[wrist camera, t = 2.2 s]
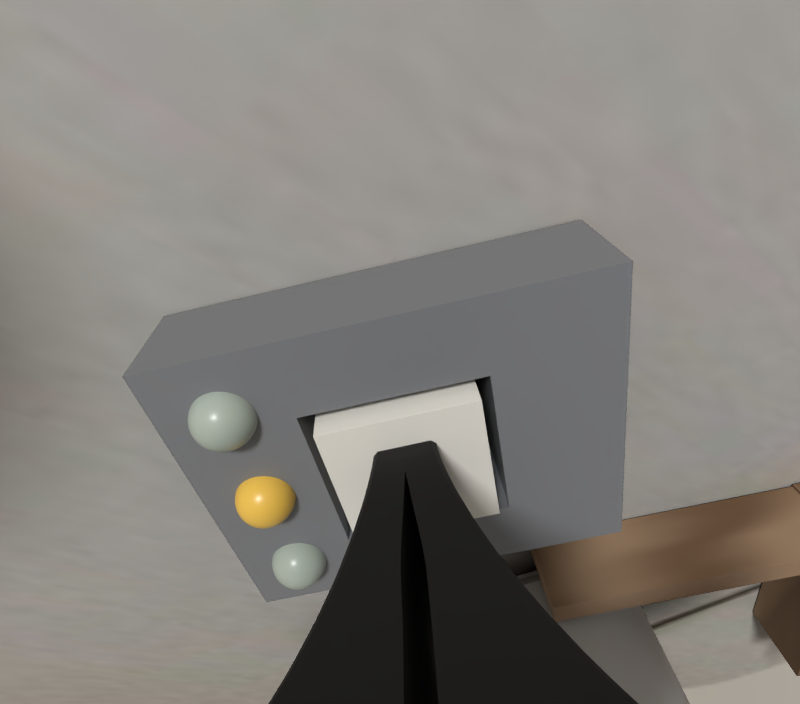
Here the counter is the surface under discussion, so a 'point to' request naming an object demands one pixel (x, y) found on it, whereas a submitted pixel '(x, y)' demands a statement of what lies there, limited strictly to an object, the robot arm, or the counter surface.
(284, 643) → the counter surface
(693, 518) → the lockout bracket
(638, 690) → the can
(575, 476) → the panel
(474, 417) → the block
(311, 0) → the counter surface
